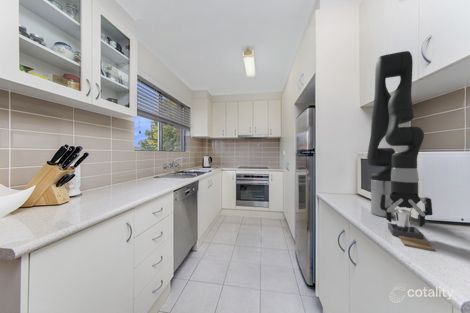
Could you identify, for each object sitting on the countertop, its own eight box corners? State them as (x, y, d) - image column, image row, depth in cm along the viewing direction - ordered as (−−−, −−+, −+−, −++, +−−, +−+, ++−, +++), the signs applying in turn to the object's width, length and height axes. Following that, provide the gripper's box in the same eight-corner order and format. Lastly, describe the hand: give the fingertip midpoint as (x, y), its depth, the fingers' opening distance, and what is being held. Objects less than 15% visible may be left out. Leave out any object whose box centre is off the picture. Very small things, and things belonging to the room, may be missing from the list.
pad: (398, 237, 65) (398, 235, 65) (426, 241, 62) (426, 240, 62) (404, 245, 59) (404, 243, 59) (434, 251, 56) (434, 249, 56)
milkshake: (417, 237, 66) (417, 209, 66) (400, 235, 67) (400, 208, 67) (408, 231, 70) (408, 205, 70) (392, 230, 71) (392, 205, 71)
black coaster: (388, 227, 74) (388, 223, 74) (415, 232, 70) (415, 227, 70) (392, 235, 67) (392, 229, 67) (423, 240, 63) (423, 234, 63)
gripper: (426, 180, 68) (427, 224, 68) (378, 178, 75) (378, 217, 75) (435, 182, 62) (435, 231, 61) (381, 180, 69) (381, 223, 69)
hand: (404, 223), depth 68 cm, fingers open, 8 cm apart
